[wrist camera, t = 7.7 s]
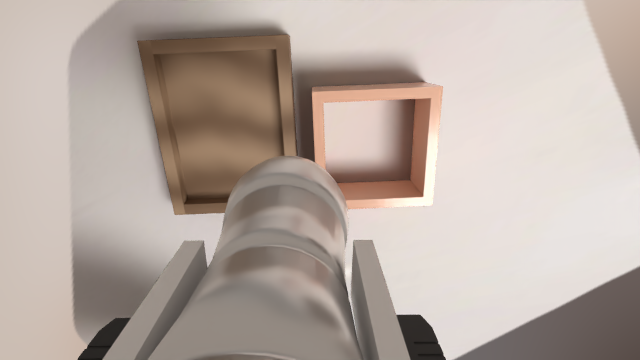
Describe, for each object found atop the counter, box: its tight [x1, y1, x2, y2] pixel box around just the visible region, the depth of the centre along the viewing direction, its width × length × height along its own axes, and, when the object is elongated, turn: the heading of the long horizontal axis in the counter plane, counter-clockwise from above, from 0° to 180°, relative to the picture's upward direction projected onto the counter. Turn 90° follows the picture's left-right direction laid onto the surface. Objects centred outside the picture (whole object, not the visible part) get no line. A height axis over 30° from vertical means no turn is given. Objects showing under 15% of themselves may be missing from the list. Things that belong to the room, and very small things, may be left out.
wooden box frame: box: [312, 82, 443, 209], centre depth 35 cm, size 12×12×5 cm
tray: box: [137, 35, 298, 215], centre depth 35 cm, size 18×14×2 cm
